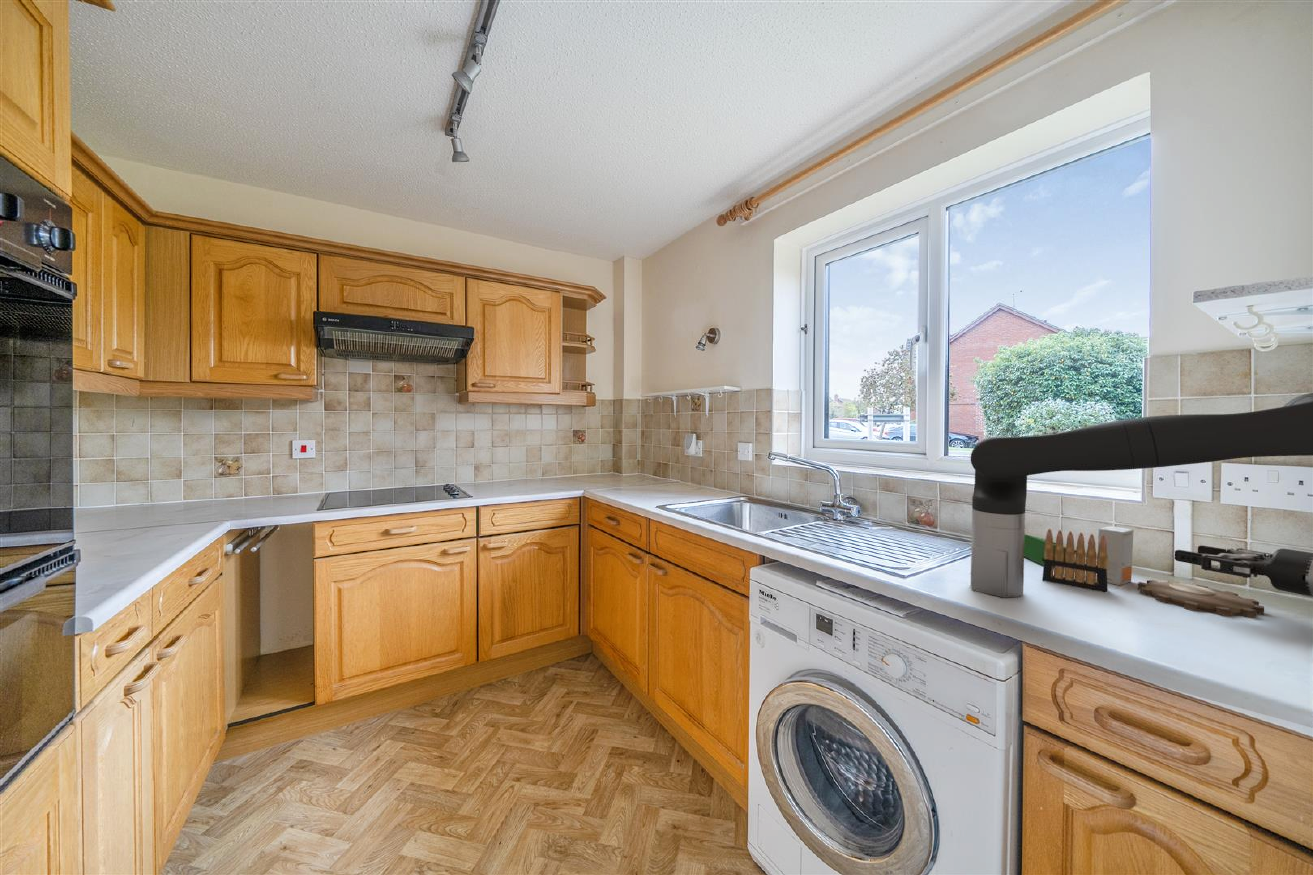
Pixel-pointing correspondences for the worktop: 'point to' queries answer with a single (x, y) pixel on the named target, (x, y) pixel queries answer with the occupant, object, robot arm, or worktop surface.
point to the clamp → (1036, 548)
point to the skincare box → (1118, 553)
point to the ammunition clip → (1076, 562)
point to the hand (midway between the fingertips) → (1187, 552)
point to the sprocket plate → (1201, 598)
